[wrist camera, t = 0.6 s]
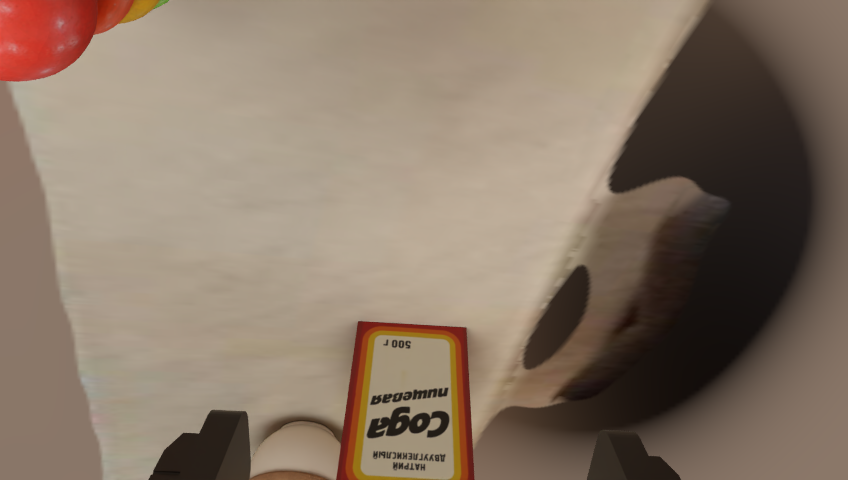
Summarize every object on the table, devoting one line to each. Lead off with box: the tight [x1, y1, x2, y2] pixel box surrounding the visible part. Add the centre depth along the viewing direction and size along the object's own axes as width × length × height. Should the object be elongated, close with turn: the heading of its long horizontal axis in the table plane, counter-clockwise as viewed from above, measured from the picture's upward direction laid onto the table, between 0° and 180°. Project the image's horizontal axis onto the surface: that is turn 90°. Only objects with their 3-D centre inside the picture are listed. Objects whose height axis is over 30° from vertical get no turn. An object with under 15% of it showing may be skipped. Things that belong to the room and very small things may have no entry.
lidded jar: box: [249, 421, 341, 480], centre depth 58 cm, size 11×11×9 cm
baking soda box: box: [336, 321, 474, 480], centre depth 46 cm, size 10×6×16 cm
